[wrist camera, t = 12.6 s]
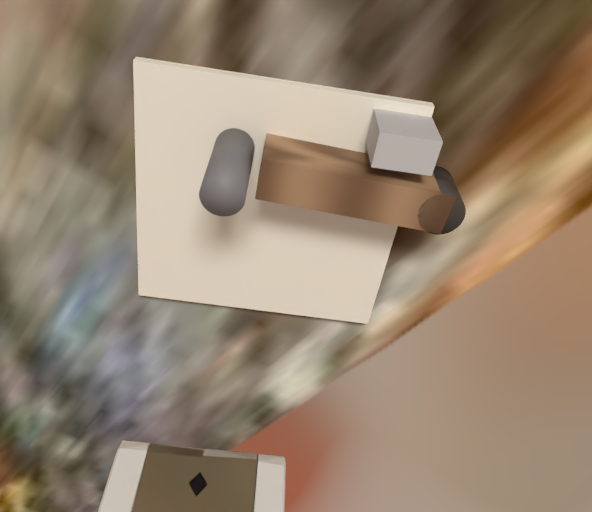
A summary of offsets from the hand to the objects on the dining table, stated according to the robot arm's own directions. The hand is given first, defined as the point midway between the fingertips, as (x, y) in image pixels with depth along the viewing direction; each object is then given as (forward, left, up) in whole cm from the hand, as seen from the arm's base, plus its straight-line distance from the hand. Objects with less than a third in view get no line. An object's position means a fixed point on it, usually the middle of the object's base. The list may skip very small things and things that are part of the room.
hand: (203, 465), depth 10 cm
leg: (+7, -8, -30) cm, 32 cm away
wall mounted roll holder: (+1, -13, -31) cm, 33 cm away
